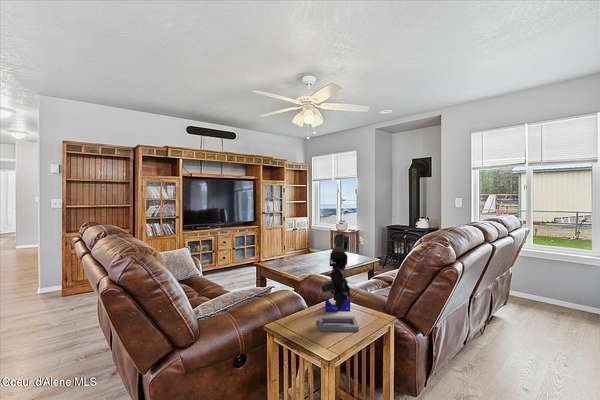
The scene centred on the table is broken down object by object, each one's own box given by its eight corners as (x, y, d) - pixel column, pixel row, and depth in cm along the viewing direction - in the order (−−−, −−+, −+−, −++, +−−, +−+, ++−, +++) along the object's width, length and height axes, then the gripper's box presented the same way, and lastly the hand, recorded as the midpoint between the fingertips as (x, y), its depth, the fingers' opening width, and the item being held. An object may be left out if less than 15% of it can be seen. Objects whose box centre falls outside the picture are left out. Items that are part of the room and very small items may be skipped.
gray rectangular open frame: (318, 319, 148) (318, 316, 148) (354, 320, 148) (354, 316, 148) (320, 330, 136) (320, 326, 136) (358, 331, 136) (358, 327, 136)
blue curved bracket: (325, 312, 140) (325, 299, 140) (325, 308, 145) (325, 296, 145) (350, 313, 140) (350, 300, 139) (349, 309, 144) (349, 297, 144)
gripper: (320, 271, 151) (320, 301, 152) (322, 282, 133) (322, 316, 133) (342, 271, 151) (341, 301, 152) (347, 282, 133) (347, 316, 133)
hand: (338, 308), depth 142 cm, fingers closed on blue curved bracket, 4 cm apart
